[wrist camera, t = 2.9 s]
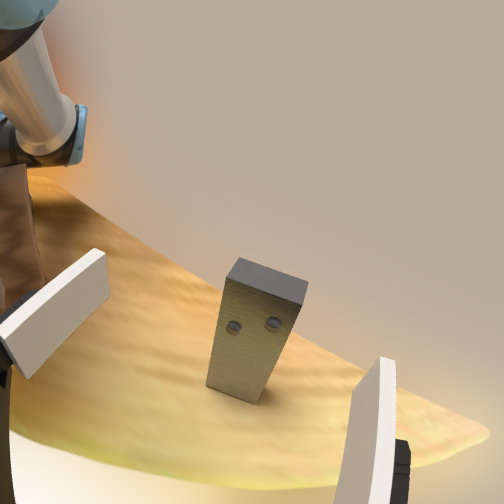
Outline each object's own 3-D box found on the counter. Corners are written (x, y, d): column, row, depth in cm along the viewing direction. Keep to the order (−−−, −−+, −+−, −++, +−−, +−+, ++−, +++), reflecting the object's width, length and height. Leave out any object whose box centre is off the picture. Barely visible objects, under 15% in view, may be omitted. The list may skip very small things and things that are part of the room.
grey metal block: (254, 406, 30) (301, 307, 21) (204, 386, 31) (224, 279, 22) (263, 382, 33) (309, 279, 24) (216, 364, 34) (240, 255, 25)
